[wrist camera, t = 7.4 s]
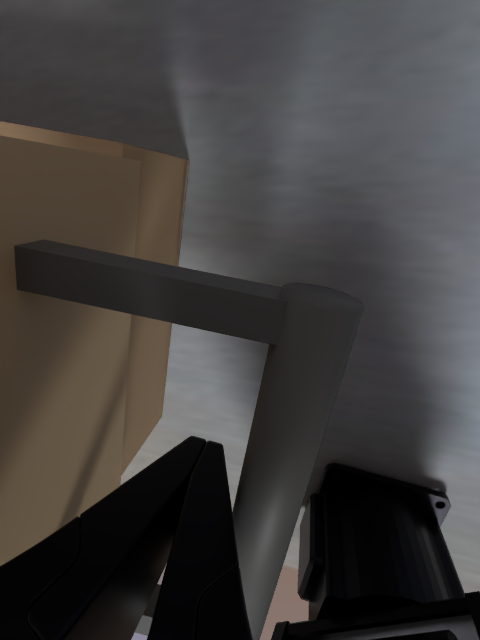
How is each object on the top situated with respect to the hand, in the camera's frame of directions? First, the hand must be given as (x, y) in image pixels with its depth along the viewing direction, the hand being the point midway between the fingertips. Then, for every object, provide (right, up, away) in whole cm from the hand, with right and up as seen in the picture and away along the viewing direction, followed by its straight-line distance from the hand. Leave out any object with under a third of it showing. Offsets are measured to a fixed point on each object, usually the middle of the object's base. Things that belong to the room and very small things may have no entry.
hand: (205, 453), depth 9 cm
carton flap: (-4, +1, +1) cm, 4 cm away
